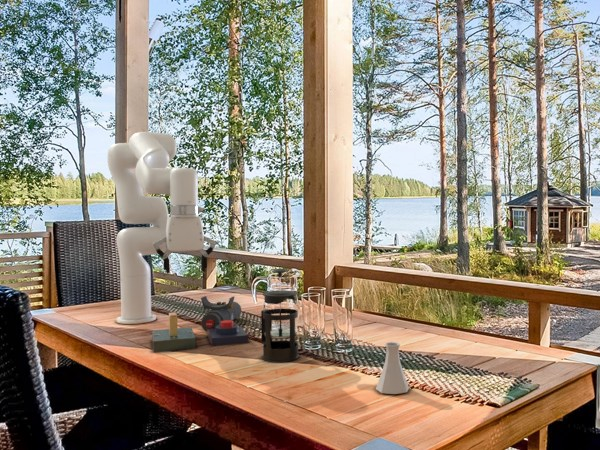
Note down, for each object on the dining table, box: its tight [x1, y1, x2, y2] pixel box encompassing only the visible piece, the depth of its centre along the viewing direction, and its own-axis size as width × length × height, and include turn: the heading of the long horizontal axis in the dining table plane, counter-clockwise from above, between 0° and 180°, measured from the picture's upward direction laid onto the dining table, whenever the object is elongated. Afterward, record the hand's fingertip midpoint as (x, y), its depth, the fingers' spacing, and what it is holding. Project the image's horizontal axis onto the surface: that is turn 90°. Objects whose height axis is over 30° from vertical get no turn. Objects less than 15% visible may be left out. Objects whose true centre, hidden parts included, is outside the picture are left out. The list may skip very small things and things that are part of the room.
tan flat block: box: [168, 311, 179, 336], centre depth 161 cm, size 6×2×6 cm, turn 22°
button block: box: [206, 323, 249, 347], centre depth 167 cm, size 12×10×4 cm
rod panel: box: [151, 326, 197, 353], centre depth 161 cm, size 14×11×3 cm
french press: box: [260, 268, 300, 363], centre depth 148 cm, size 12×9×23 cm
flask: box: [375, 341, 410, 395], centre depth 123 cm, size 7×7×10 cm
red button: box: [221, 320, 234, 328], centre depth 167 cm, size 4×4×2 cm
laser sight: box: [200, 295, 242, 332], centre depth 185 cm, size 10×22×10 cm, turn 174°
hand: (185, 271), depth 162 cm, fingers open, 9 cm apart
